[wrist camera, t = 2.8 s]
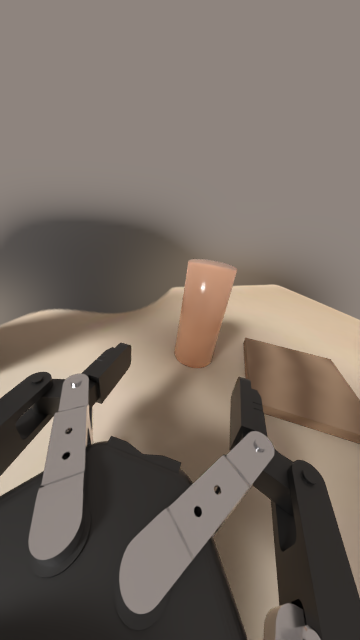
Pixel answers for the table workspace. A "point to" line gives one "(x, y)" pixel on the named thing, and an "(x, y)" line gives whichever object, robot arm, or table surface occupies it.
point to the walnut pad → (302, 389)
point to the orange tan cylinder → (203, 310)
